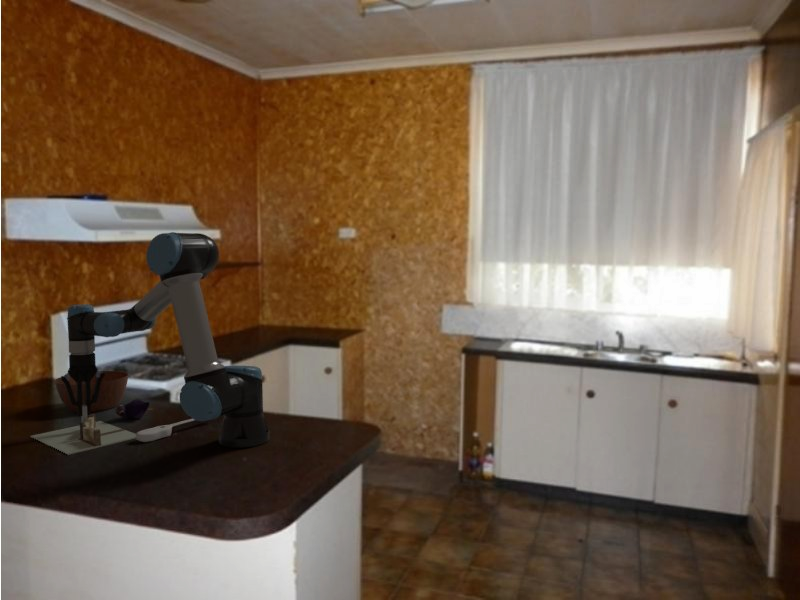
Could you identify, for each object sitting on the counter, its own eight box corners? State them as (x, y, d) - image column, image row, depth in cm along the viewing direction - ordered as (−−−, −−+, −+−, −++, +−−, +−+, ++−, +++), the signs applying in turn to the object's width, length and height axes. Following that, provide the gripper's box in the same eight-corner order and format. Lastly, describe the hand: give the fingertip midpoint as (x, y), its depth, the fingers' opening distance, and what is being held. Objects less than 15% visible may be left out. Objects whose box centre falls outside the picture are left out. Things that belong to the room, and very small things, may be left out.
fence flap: (86, 436, 196) (86, 423, 196) (81, 436, 196) (81, 423, 195) (95, 426, 207) (95, 414, 206) (91, 426, 206) (90, 414, 206)
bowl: (81, 419, 219) (80, 387, 218) (42, 410, 232) (40, 380, 231) (144, 404, 240) (142, 374, 239) (104, 396, 253) (103, 368, 252)
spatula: (207, 420, 215) (207, 412, 215) (218, 423, 212) (217, 414, 212) (131, 441, 192) (131, 432, 192) (142, 444, 189) (142, 435, 189)
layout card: (141, 437, 197) (141, 435, 197) (67, 455, 180) (67, 453, 180) (100, 422, 215) (100, 420, 215) (30, 437, 198) (30, 435, 198)
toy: (151, 420, 217) (149, 402, 216) (115, 425, 213) (113, 406, 212) (153, 410, 227) (151, 393, 226) (119, 415, 224) (117, 397, 222)
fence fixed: (101, 446, 188) (100, 428, 188) (96, 447, 187) (95, 429, 187) (84, 439, 195) (83, 422, 195) (79, 440, 194) (78, 423, 194)
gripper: (101, 349, 208) (103, 419, 210) (57, 353, 200) (60, 426, 202) (106, 352, 202) (108, 424, 204) (61, 356, 194) (64, 431, 196)
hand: (84, 425), depth 203 cm, fingers closed
